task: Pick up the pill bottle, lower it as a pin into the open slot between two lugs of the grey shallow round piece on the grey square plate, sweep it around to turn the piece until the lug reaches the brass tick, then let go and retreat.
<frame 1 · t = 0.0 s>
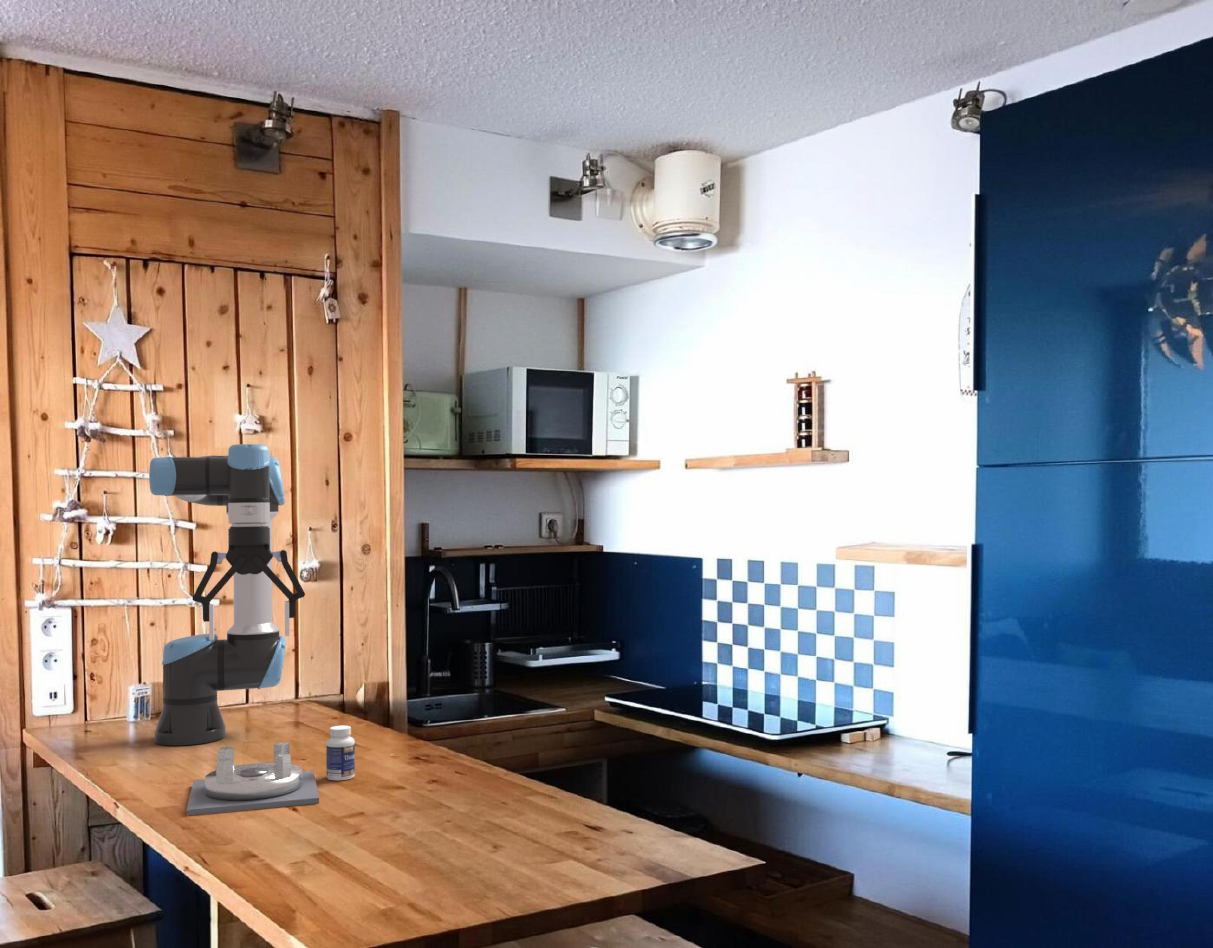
hand: (249, 637, 209), 28 cm above the counter, fingers open, 13 cm apart
grey square plate: (254, 794, 202), on the counter
grey shallow round piece: (254, 769, 202), point 5 cm above the counter, hinge at 0.0°
pill bottle: (340, 778, 213), on the counter
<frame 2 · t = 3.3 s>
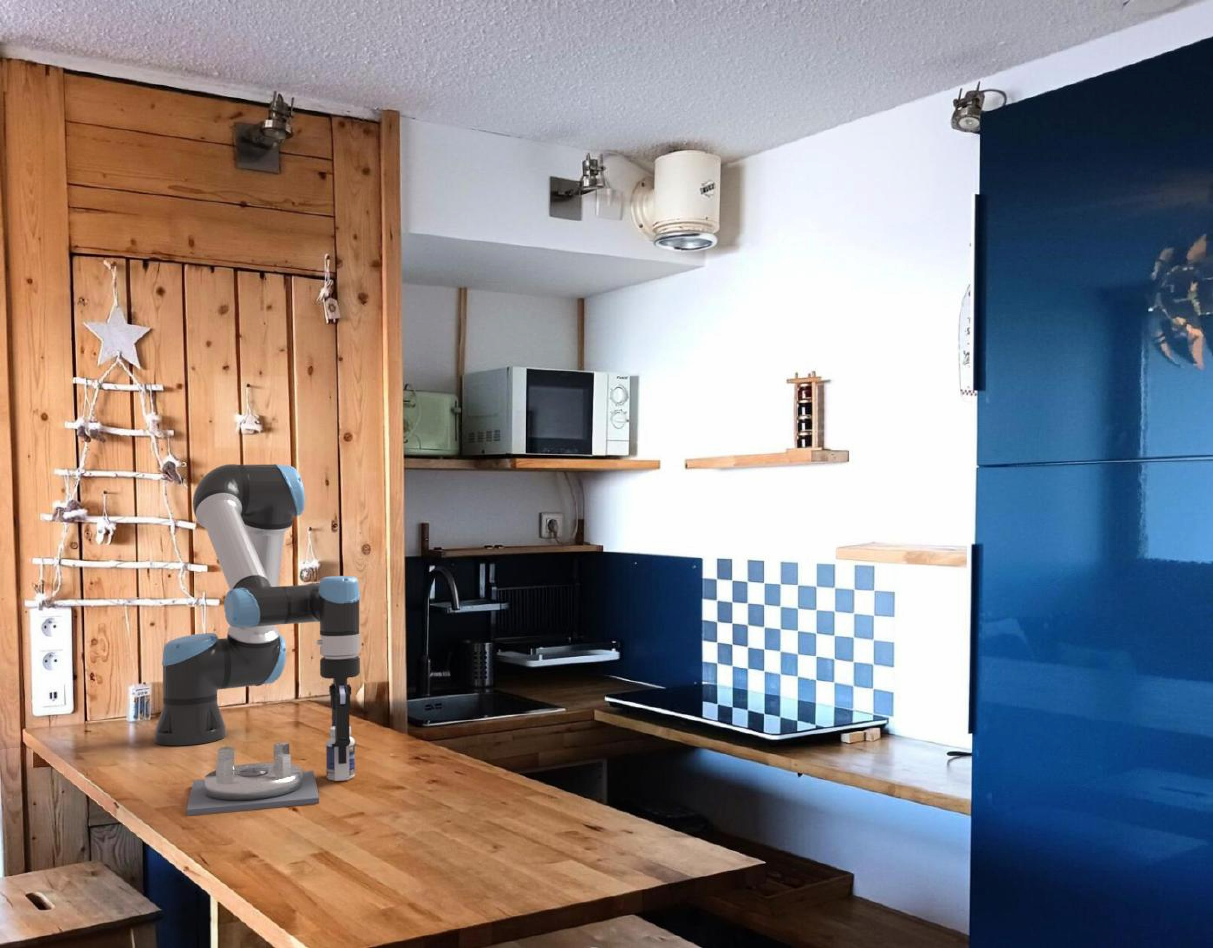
hand: (340, 775, 213), 0 cm above the counter, fingers closed on pill bottle, 5 cm apart
pill bottle: (340, 778, 213), on the counter, touching gripper
everything else where it was.
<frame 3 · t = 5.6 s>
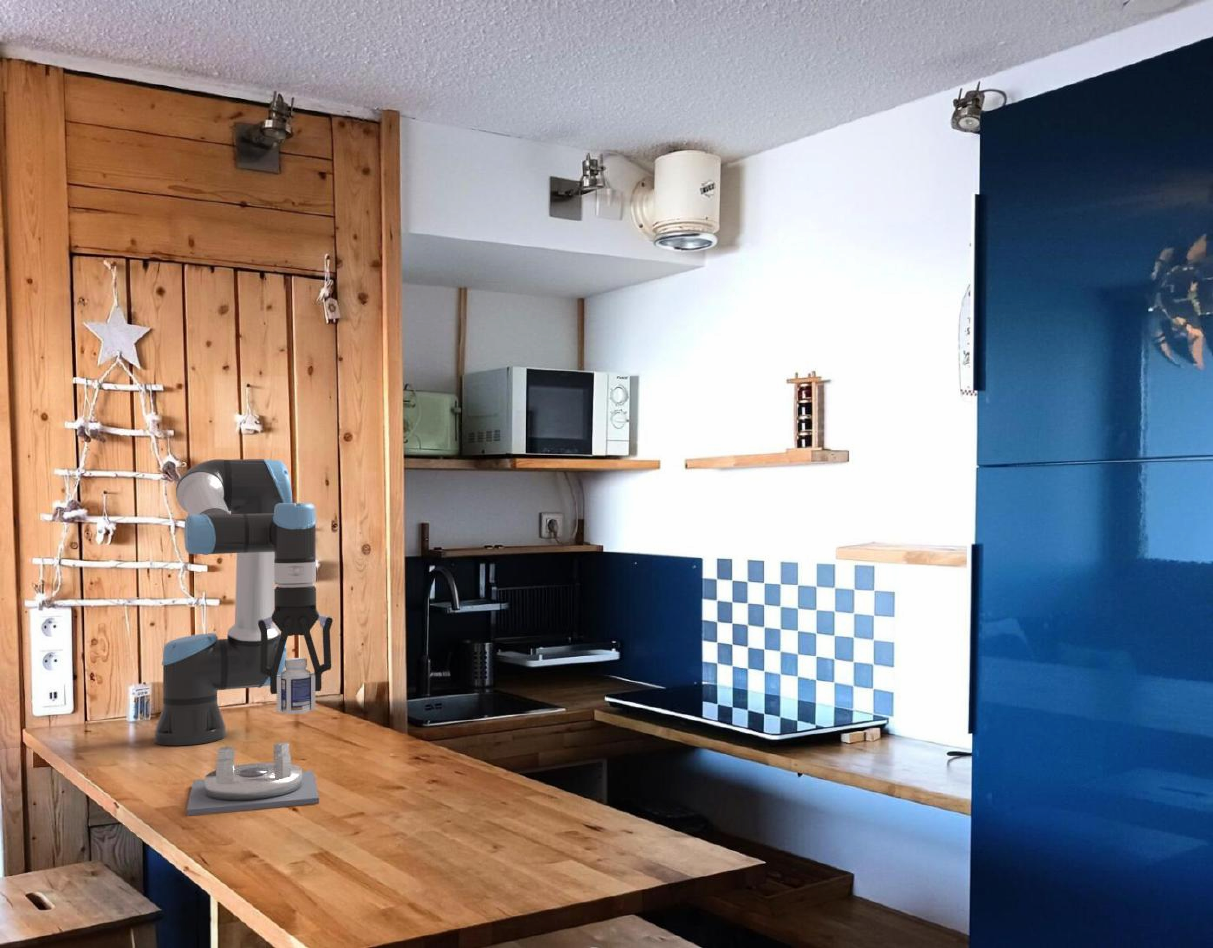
hand: (296, 710, 205), 15 cm above the counter, fingers closed on pill bottle, 5 cm apart
pill bottle: (296, 712, 205), point 14 cm above the counter, touching gripper
everything else where it was.
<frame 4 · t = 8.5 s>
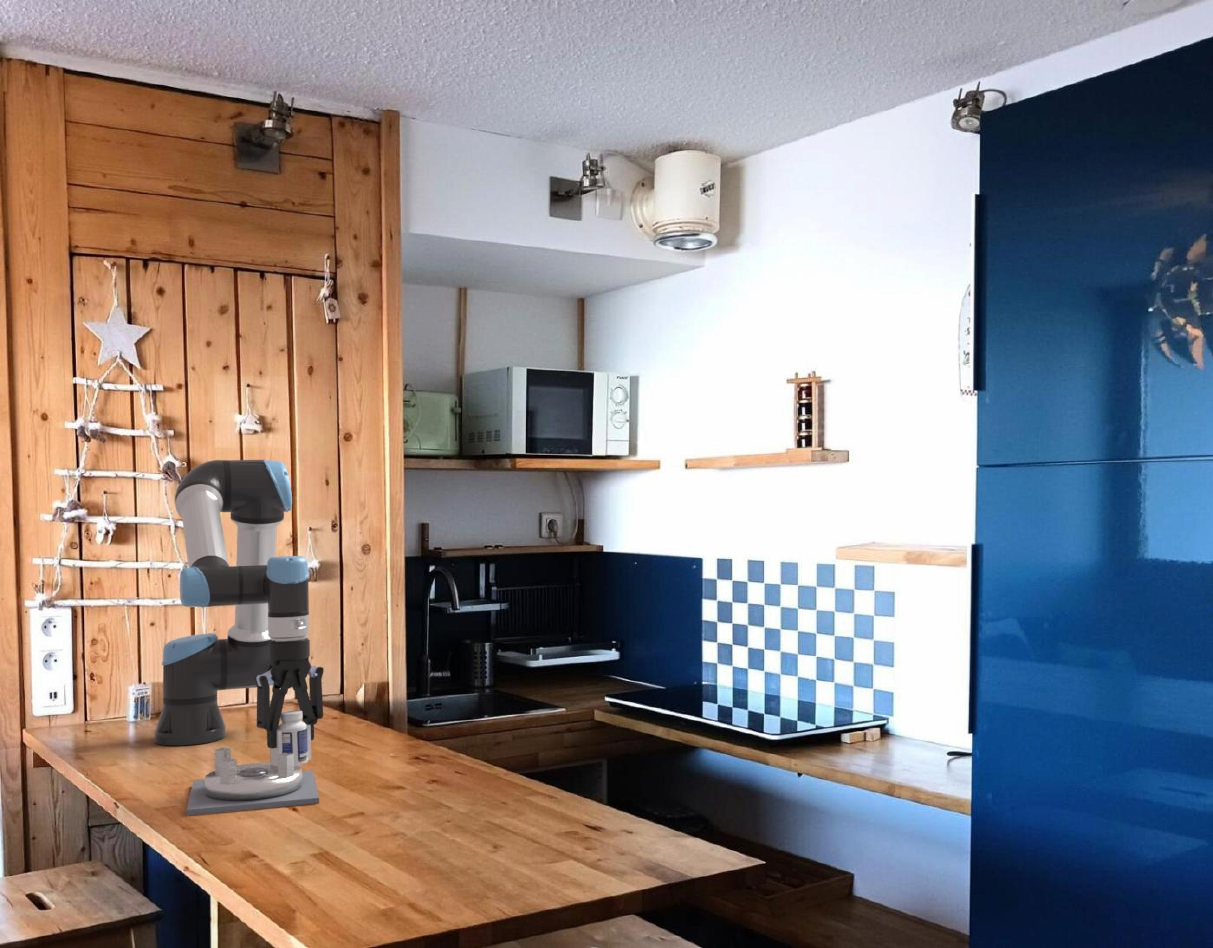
hand: (291, 761, 207), 5 cm above the counter, fingers closed on pill bottle, 5 cm apart
grey shallow round piece: (254, 769, 202), point 5 cm above the counter, hinge at 7.0°, touching pill bottle
pill bottle: (293, 765, 207), point 4 cm above the counter, touching gripper, grey shallow round piece
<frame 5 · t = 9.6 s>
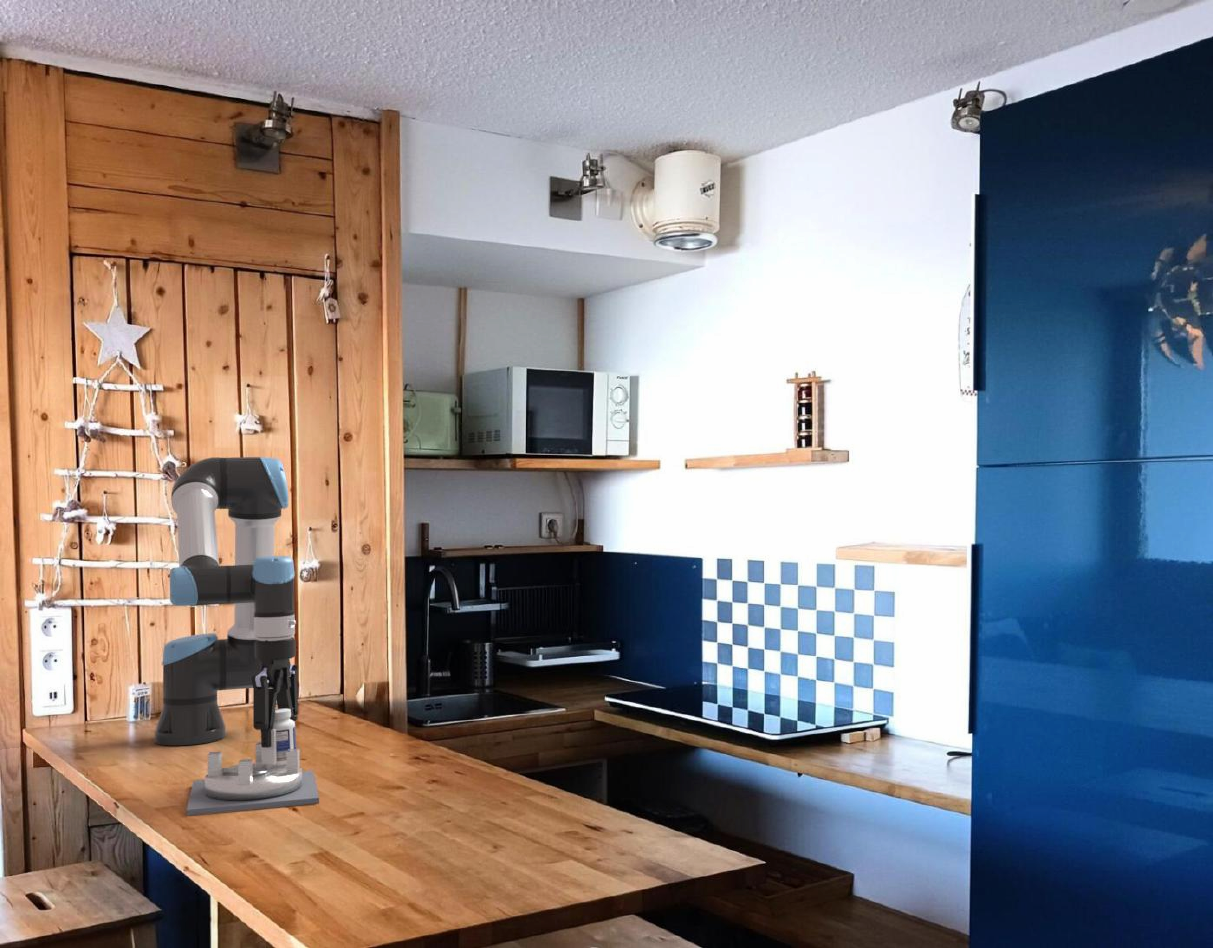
hand: (277, 759, 209), 5 cm above the counter, fingers closed on pill bottle, 5 cm apart
grey shallow round piece: (254, 769, 202), point 5 cm above the counter, hinge at 33.3°, touching pill bottle
pill bottle: (282, 762, 209), point 4 cm above the counter, touching gripper, grey shallow round piece
when the fingers open (5 cm above the counter, at t = 9.6 s): pill bottle stays where it is, resting on grey shallow round piece.
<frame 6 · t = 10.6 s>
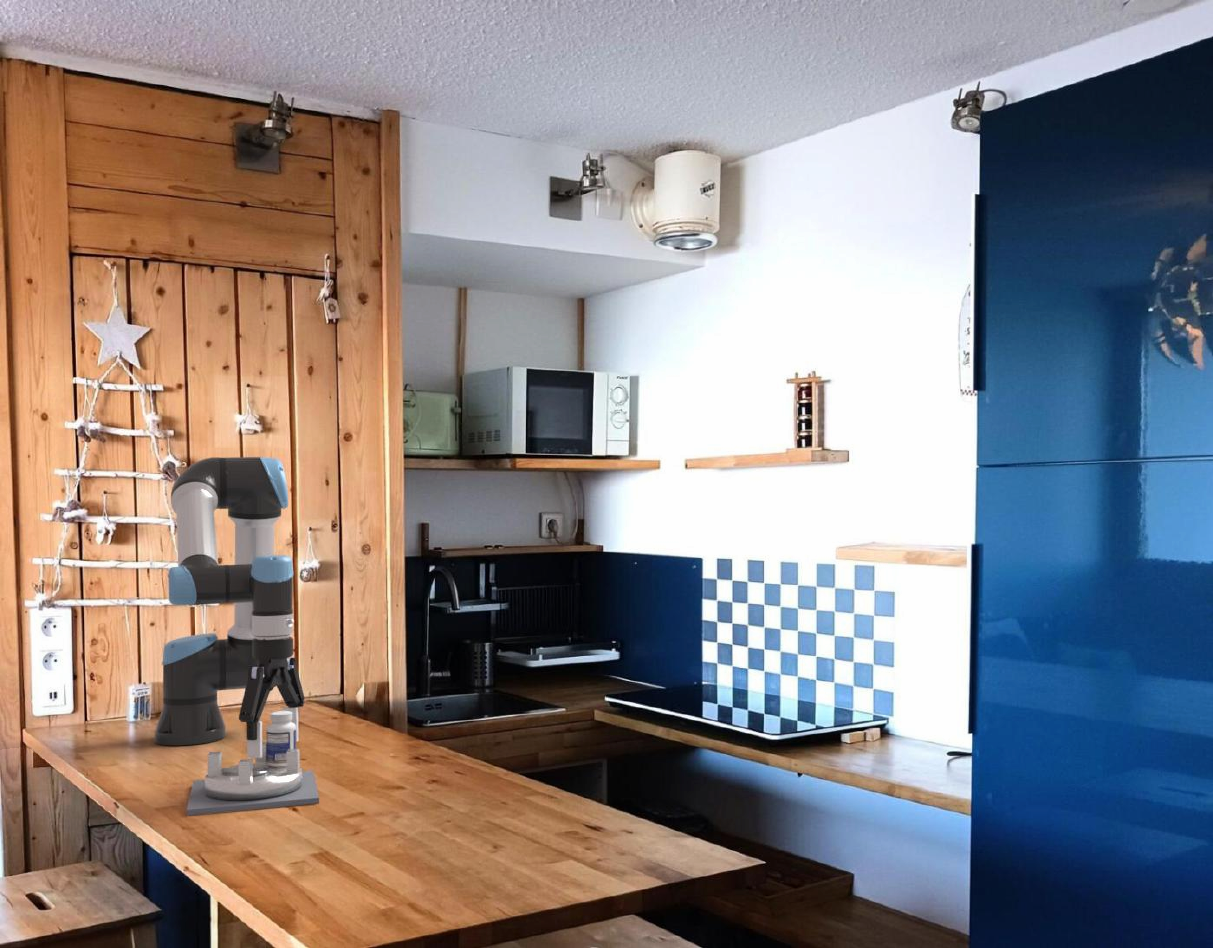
hand: (273, 749, 209), 7 cm above the counter, fingers open, 13 cm apart
grey shallow round piece: (254, 769, 202), point 5 cm above the counter, hinge at 33.6°, touching pill bottle
pill bottle: (281, 765, 209), point 4 cm above the counter, touching grey shallow round piece
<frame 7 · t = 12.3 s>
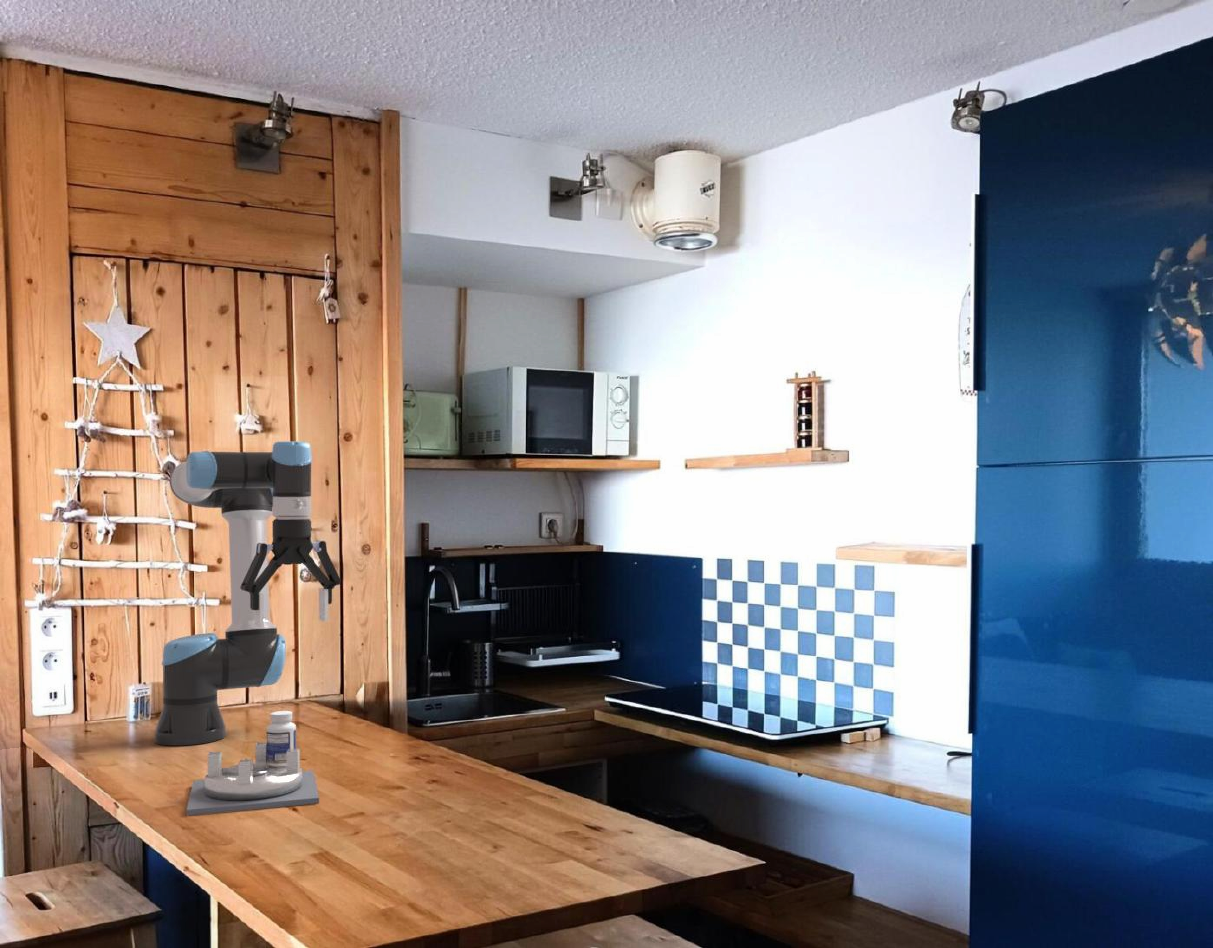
hand: (292, 623, 221), 29 cm above the counter, fingers open, 13 cm apart
nothing on the counter moved.
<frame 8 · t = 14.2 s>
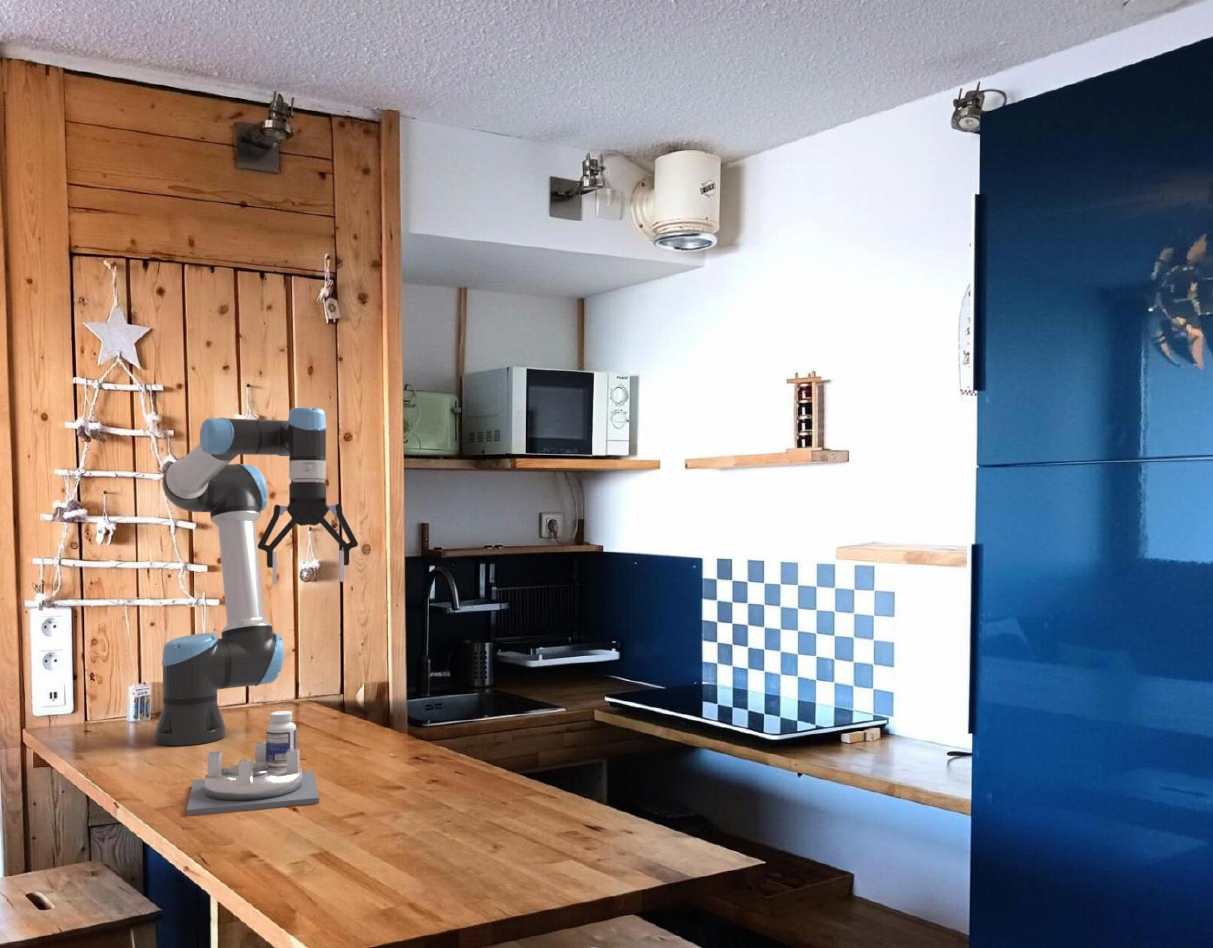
hand: (308, 582, 231), 37 cm above the counter, fingers open, 13 cm apart
nothing on the counter moved.
at the end: grey shallow round piece at +34° (first picture: +0°); the gripper is holding nothing; pill bottle 7.8 cm from the grey shallow round piece (horizontally) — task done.
